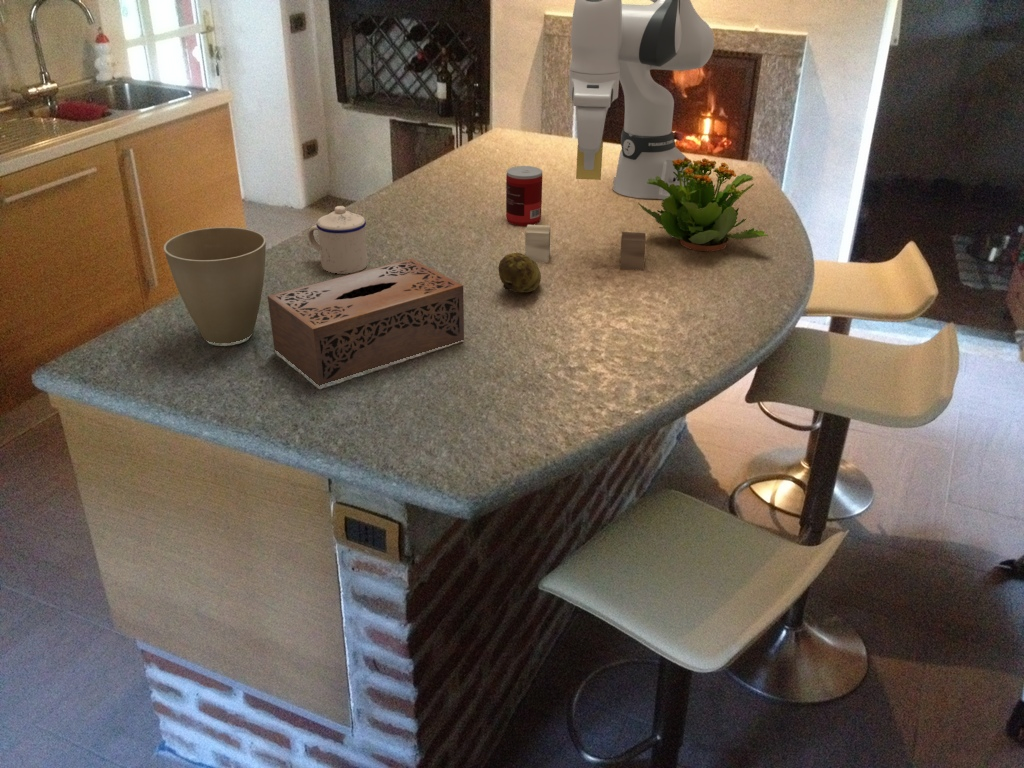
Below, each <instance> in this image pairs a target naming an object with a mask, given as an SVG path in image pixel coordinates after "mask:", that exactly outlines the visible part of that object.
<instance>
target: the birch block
mask: <svg viewBox="0 0 1024 768" xmlns="http://www.w3.org/2000/svg"><path fill="white" fill-rule="evenodd" d="M551 230H552V228H551V225H546V224H545V225H541V224H539V225H538V224H535V225H528V226H526V230H525V238H524V240H525V241H524V243H525V244H524V255H526V256H527V257H529V258H530V259H531V260H533V261H534V262H535V263H541V262H544V263H545V264H549V259H550V253H551ZM544 263H543V264H544Z"/></svg>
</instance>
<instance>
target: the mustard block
mask: <svg viewBox="0 0 1024 768" xmlns="http://www.w3.org/2000/svg"><path fill="white" fill-rule="evenodd" d="M603 149H604V141H603V140H602V141H601V146H600V150H599V152H595V159H594V169H593V170H585V169H584V152H580V151H579V147H578V146H577V149H576V151H577V153H576V154H577V155H576V173H575V179H576V180H594V181H601V178H602V167H603V166H602V164H603Z"/></svg>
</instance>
